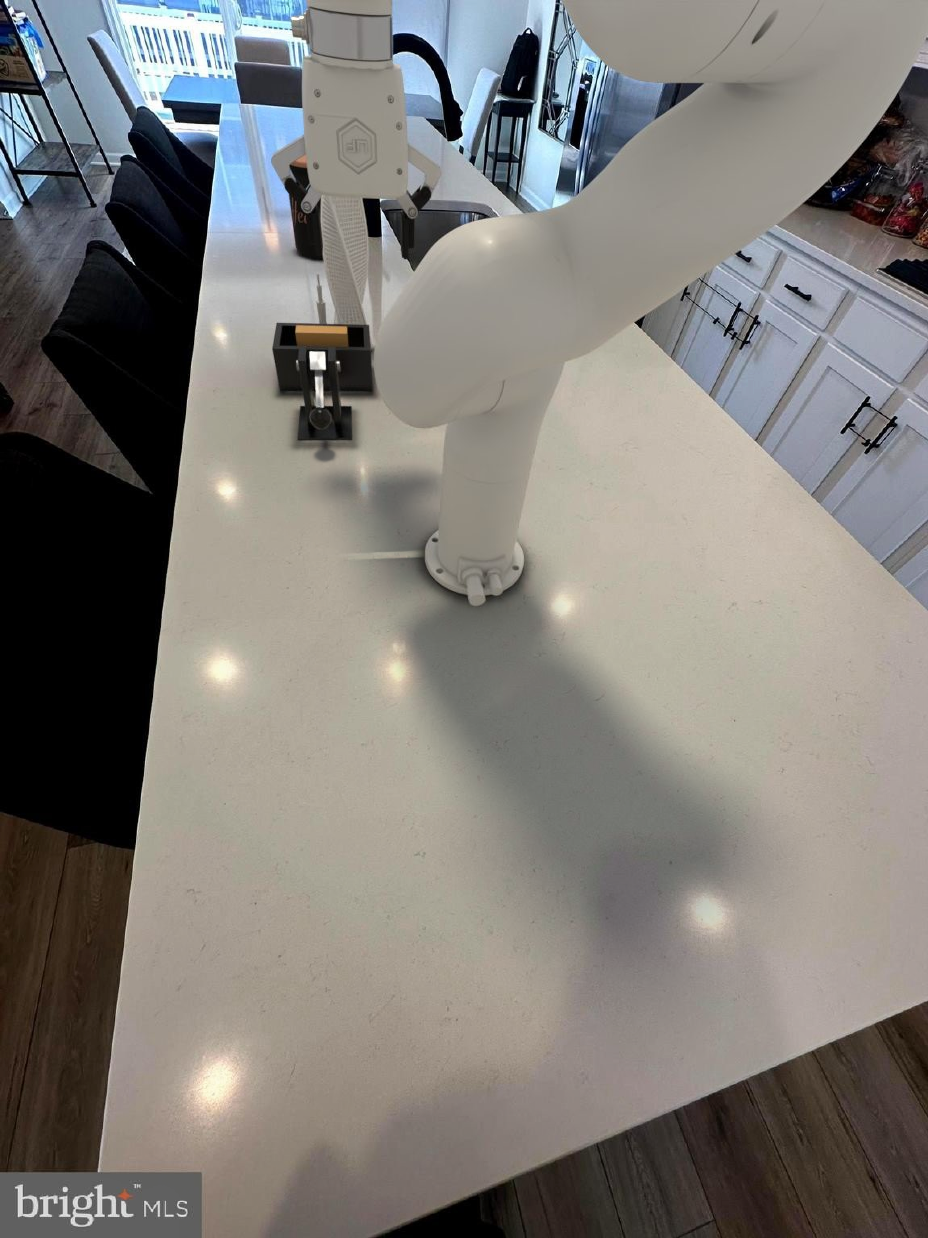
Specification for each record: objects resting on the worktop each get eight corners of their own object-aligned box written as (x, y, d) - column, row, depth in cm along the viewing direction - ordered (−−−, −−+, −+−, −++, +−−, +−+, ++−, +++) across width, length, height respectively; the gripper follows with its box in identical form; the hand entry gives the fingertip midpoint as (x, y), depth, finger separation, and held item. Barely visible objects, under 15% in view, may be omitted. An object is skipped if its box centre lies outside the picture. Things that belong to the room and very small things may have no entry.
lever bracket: (352, 445, 85) (346, 369, 76) (298, 445, 84) (285, 368, 75) (352, 412, 90) (346, 338, 81) (301, 412, 89) (289, 337, 80)
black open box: (373, 396, 94) (370, 350, 88) (280, 395, 92) (272, 348, 86) (371, 369, 100) (369, 324, 94) (284, 368, 97) (276, 322, 91)
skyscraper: (349, 334, 107) (335, 148, 86) (382, 348, 105) (376, 160, 83) (318, 349, 103) (295, 156, 81) (352, 364, 100) (338, 169, 78)
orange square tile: (350, 381, 95) (347, 333, 89) (302, 381, 94) (295, 332, 88) (350, 374, 97) (347, 326, 90) (303, 373, 95) (296, 324, 89)
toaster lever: (333, 433, 80) (331, 422, 77) (311, 433, 79) (308, 422, 76) (330, 363, 81) (327, 350, 78) (308, 362, 81) (306, 349, 78)
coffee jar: (291, 245, 133) (278, 149, 120) (334, 242, 137) (326, 148, 123) (302, 262, 128) (290, 163, 114) (348, 259, 131) (341, 162, 117)
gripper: (247, 35, 47) (282, 262, 60) (450, 55, 50) (440, 268, 63) (256, 25, 52) (286, 238, 65) (441, 43, 54) (434, 244, 68)
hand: (362, 253), depth 64 cm, fingers open, 9 cm apart
